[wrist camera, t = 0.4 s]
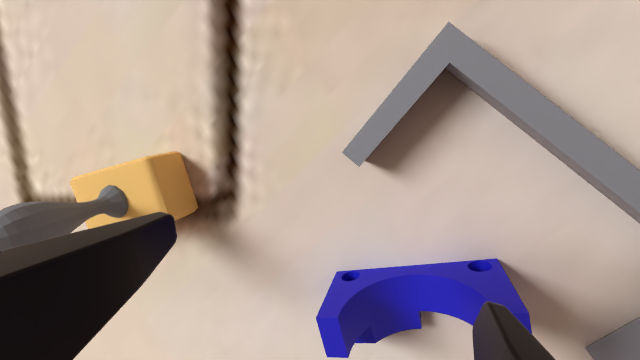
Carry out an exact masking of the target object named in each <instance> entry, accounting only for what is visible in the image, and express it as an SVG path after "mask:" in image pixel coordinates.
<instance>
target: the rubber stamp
mask: <svg viewBox="0 0 640 360" xmlns="http://www.w3.org/2000/svg"><path fill="white" fill-rule="evenodd" d="M70 184H71V187H72V189H73V192H74V194H75V197H76V199H77V202H78V203H70V202H48V201H38V202H26V203H20V204H16V205H12V206H9V207H7V208H4V209H2V210H1V211H0V251H4V250H6V249H10V248H14V247H18V246H22V245H26V244H30V243H34V242H38V241H42V240H46V239H50V238H54V237H58V236H62V235H67V234H70V233H71V232H72V231H73V230H75V229H76V228H77V227H78V226H80V225H81V224H82V223H83V222H86V225H87V227H88V229H91V228H95V227H99V226H103V225H107V224H111V223H115V222H119V221H123V220H127V219H132V218H136V217H140V216H144V215H148V214H152V213H156V212H164V213H168V214H171V215H173V217H174V219H175V221H176V220H178V219H180V218H182V217H185V216H187V215H189V214H191V213H193V212H195V211H196V210H197V208H198V204H197V201H196V198H195V195H194V192H193V189H192V186H191V183H190V180H189V177H188V174H187V171H186V168H185V165H184V162H183V159H182V156H181V154H180V153H178V152H170V153H164V154H158V155H153V156H147V157H143V158H140V159H136V160H133V161H129V162H126V163H122V164H119V165H115V166H112V167H108V168H105V169H101V170H98V171H94V172H91V173H87V174H84V175H80V176H77V177H73V179H72V180H71V181H70Z"/></svg>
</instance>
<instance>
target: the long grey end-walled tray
mask: <svg viewBox="0 0 640 360" xmlns="http://www.w3.org/2000/svg"><path fill="white" fill-rule="evenodd" d="M444 68H445V69H446V70H447V71H449V72H450V73H451V74H452V75H454V76H455V77H456V78H457V79H459V80H460V81H461V82H463V83H464V84H465V85H466V86H468V87H469V88H470V89H471V90H473V91H474V92H475V93H476V94H478V95H479V96H480V97H481V98H483V99H484V100H485V101H486V102H488V103H489V104H490V105H491V106H493V107H494V108H495V109H497V110H498V111H499V112H500V113H502V114H503V115H504V116H505V117H507V118H508V119H509V120H510V121H512V122H513V123H514V124H515V125H517V126H518V127H519V128H520V129H522V130H523V131H524V132H525V133H527V134H528V135H529V136H530V137H532V138H533V139H534V140H536V141H537V142H538V143H539V144H541V145H542V146H543V147H544V148H546V149H547V150H548V151H549V152H551V153H552V154H553V155H554V156H556V157H557V158H558V159H559V160H561V161H562V162H563V163H564V164H566V165H567V166H568V167H570V168H571V169H572V170H573V171H575V172H576V173H577V174H578V175H580V176H581V177H582V178H583V179H585V180H586V181H587V182H588V183H590V184H591V185H592V186H593V187H595V188H596V189H597V190H598V191H600V192H601V193H602V194H604V195H605V196H606V197H607V198H609V199H610V200H611V201H612V202H614V203H615V204H616V205H617V206H619V207H620V208H621V209H622V210H624V211H625V212H626V213H627V214H629V215H630V216H631V217H632V218H634V219H635V220H636V221H637V222H639V223H640V170H639V169H637V168H636V167H635V166H634V165H632V164H631V163H630V162H628V161H627V160H626V159H625V158H623V157H622V156H621V155H619V154H618V153H617V152H616V151H614V150H613V149H612V148H610V147H609V146H608V145H607V144H605V143H604V142H603V141H601V140H600V139H599V138H598V137H596V136H595V135H594V134H592V133H591V132H590V131H589V130H587V129H586V128H585V127H583V126H582V125H581V124H580V123H578V122H577V121H576V120H574V119H573V118H572V117H571V116H569V115H568V114H567V113H565V112H564V111H563V110H562V109H560V108H559V107H558V106H556V105H555V104H554V103H553V102H551V101H550V100H549V99H547V98H546V97H545V96H544V95H542V94H541V93H540V92H538V91H537V90H536V89H535V88H533V87H532V86H531V85H529V84H528V83H527V82H526V81H524V80H523V79H522V78H520V77H519V76H518V75H517V74H515V73H514V72H513V71H511V70H510V69H509V68H508V67H506V66H505V65H504V64H502V63H501V62H500V61H499V60H497V59H496V58H495V57H493V56H492V55H491V54H490V53H488V52H487V51H486V50H484V49H483V48H482V47H481V46H479V45H478V44H477V43H475V42H474V41H473V40H472V39H470V38H469V37H468V36H466V35H465V34H464V33H463V32H461V31H460V30H459V29H457V28H456V27H455V26H454V25H452V24H451V23H450V22H448V23H447V24H446V26H445V27H444V28H443V29H442V31H441V32H440V33H439V34H438V35H437V37H436V38H435V39H434V40H433V42H432V43H431V44H430V45H429V47H428V48H427V49H426V50H425V51H424V53H423V54H422V55H421V56H420V58H419V59H418V60H417V61H416V62H415V64H414V65H413V66H412V67H411V69H410V70H409V71H408V72H407V73H406V75H405V76H404V77H403V78H402V80H401V81H400V82H399V83H398V84H397V86H396V87H395V88H394V89H393V91H392V92H391V93H390V94H389V95H388V97H387V98H386V99H385V100H384V102H383V103H382V104H381V105H380V107H379V108H378V109H377V110H376V111H375V113H374V114H373V115H372V116H371V118H370V119H369V120H368V121H367V122H366V124H365V125H364V126H363V127H362V129H361V130H360V131H359V132H358V133H357V135H356V136H355V137H354V138H353V140H352V141H351V142H350V143H349V144H348V146H347V147H346V148H345V149H344V151H343V152H342V153H343V154H345V155H346V156H347V157H348V158H349V159H350V160H352V161H353V162H354V163H355V164H356V165H357V166H359V167H360V165H361V164H362V163H363V162H364V161H365V160H366V159H367V157H368V156H369V155H370V154H371V153H372V152H373V150H374V149H375V148H376V147H377V146H378V145H379V144H380V142H381V141H382V140H383V139H384V138H385V137H386V135H387V134H388V133H389V132H390V131H391V130H392V129H393V127H394V126H395V125H396V124H397V123H398V122H399V120H400V119H401V118H402V117H403V116H404V115H405V114H406V112H407V111H408V110H409V109H410V108H411V107H412V105H413V104H414V103H415V102H416V101H417V100H418V99H419V97H420V96H421V95H422V94H423V93H424V92H425V90H426V89H427V88H428V87H429V86H430V85H431V84H432V82H433V81H434V80H435V79H436V78H437V77H438V75H439V74H440V73H441V72H442V71H443V70H444ZM585 348H586V349H587V351H588V352H589V353H590V355H591V356H592V358H593V359H594V360H640V317H639V318H637V319H636V320H634V321H632V322H630V323H628V324H627V325H625V326H623V327H621V328H619V329H618V330H616V331H614V332H612V333H610V334H609V335H607V336H605V337H603V338H601V339H600V340H598V341H596V342H594V343H593V344H591V345H589V346H587V347H585Z"/></svg>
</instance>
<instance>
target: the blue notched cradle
mask: <svg viewBox="0 0 640 360" xmlns="http://www.w3.org/2000/svg"><path fill="white" fill-rule="evenodd" d="M487 301H490V302H493V303H497V304H501V305H503V306H505V307H506V308H507V309H508V310H509V311H510V312H511V313H512V314H513V315H514V316H515V317H516V318H517V319H518V320H519V321H520V322H521V323H522V324H523V326H524V327H525V328H526V329H527V330H528V331H529V332H530V333H531V334H532V331H531V325H530V318H529V312H528V311H527V309H526V307H525V306H524V304H523V302H522V300H521V299H520V297H519V295H518V294H517V292H516V290H515V288H514V287H513V285H512V283H511V282H510V280H509V278H508V276H507V275H506V273H505V271H504V270H503V268H502V266H501V264H500V263H499V261H498V259H486V260H474V261H462V262H450V263H437V264H425V265H413V266H401V267H388V268H376V269H364V270H351V271H339V272H337V273H336V275H335V277H334V279H333V281H332V284H331V286H330V288H329V290H328V292H327V295H326V297H325V299H324V301H323V304H322V306H321V308H320V310H319V312H318V315H317V317H316V320H317V323H318V327H319V330H320V334H321V338H322V341H323V345H324V348H325V352H326V355H327V357H341V358H348V357H349V354H350V351H351V349H352V347H353V345H354V343H376V342H378V341H380V340H381V339H383V338H385V337H387V336H389V335H391V334H394V333H397V332H400V331H404V330H410V329H422V328H421V315H420V311H430V312H438V313H443V314H447V315H450V316H453V317H456V318H459V319H461V320H463V321H465V322H467V323H469V324H471V325H474V322H475V320H476V318H477V316H478V314H479V312H480V310H481V308H482V306H483V304H484V303H485V302H487Z"/></svg>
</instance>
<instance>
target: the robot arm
mask: <svg viewBox="0 0 640 360" xmlns="http://www.w3.org/2000/svg"><path fill="white" fill-rule="evenodd" d="M176 238H177V234H176V227H175V219H174V217H173V215H171V214H168V213H164V212H156V213H152V214H148V215H144V216H140V217H136V218H132V219H127V220H123V221H119V222H115V223H111V224H107V225H103V226H99V227H95V228H91V229H87V230H83V231H79V232H75V233H71V234H67V235H62V236H58V237H54V238H50V239H46V240H42V241H38V242H34V243H30V244H26V245H22V246H18V247H14V248H10V249H6V250H4V251H0V360H73V359H74V358H75V357H76V356H77V355H78V354H79V352H80V351H81V350H82V349H83V348H84V347H85V346H86V345H87V344H88V343H89V342H90V341H91V340H92V338H93V337H94V336H95V335H96V334H97V333H98V332H99V331H100V330H101V329H102V328H103V327H104V326H105V325H106V323H107V322H108V321H109V320H110V319H111V318H112V317H113V316H114V315H115V314H116V313H117V312H118V311H119V310H120V308H121V307H122V306H123V305H124V304H125V303H126V302H127V301H128V300H129V299H130V298H131V297H132V296H133V294H134V293H135V292H136V291H137V290H138V289H139V288H140V287H141V286H142V285H143V283H144V282H145V281H146V280H147V278H148V277H149V276H150V275H151V273H152V272H153V271H154V269H155V268H156V267H157V266H158V264H159V263H160V262H161V260H162V259H163V258H164V257H165V255H166V254H167V253H168V251H169V250H170V249H171V248H172V246H173V245H174V244H175V242H176ZM473 347H474V360H555V359H554V357H553V356H552V355H551V354H550V353H549V352H548V351H547V350H546V349H545V348H544V347H543V346H542V345H541V344H540V343H539V342H538V340H537V339H536V338H535V337H534V336H533V335H532V334H531V333H530V332H529V331H528V330H527V329H526V328H525V327H524V326H523V324H522V323H521V322H520V321H519V320H518V319H517V318H516V317H515V316H514V315H513V314H512V313H511V312H510V311H509V310H508V309H507V308H506V307H505V306H503V305H501V304H497V303H493V302H490V301H487V302H485V303H484V304H483V306H482V308H481V310H480V312H479V314H478V316H477V318H476V320H475V322H474V325H473Z"/></svg>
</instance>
